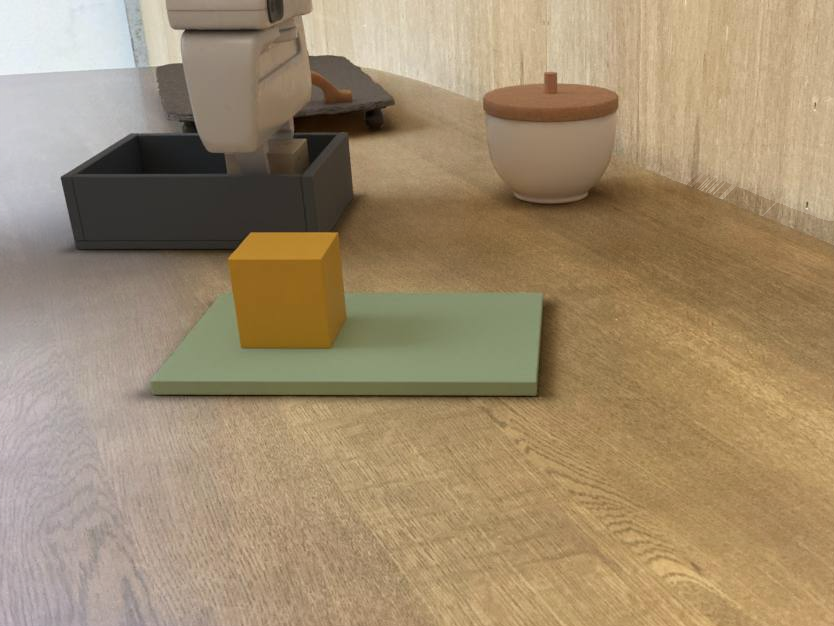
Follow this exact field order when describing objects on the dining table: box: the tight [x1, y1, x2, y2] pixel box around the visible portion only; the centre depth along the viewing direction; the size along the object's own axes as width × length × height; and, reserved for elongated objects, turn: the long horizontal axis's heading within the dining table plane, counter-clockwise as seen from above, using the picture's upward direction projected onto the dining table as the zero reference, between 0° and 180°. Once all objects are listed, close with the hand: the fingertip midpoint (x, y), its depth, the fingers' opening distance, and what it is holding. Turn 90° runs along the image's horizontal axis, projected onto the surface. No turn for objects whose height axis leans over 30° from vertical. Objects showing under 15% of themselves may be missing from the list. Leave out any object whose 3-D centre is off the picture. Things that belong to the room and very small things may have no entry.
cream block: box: [225, 139, 310, 175], centre depth 86 cm, size 5×5×5 cm
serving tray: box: [155, 49, 396, 133], centre depth 126 cm, size 39×23×6 cm, turn 18°
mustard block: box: [227, 231, 347, 348], centre depth 63 cm, size 5×5×5 cm
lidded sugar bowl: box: [482, 71, 619, 204], centre depth 91 cm, size 11×11×9 cm
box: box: [60, 132, 355, 250], centre depth 86 cm, size 18×15×5 cm
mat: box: [149, 291, 544, 397], centre depth 65 cm, size 20×14×1 cm
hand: (271, 189), depth 86 cm, fingers closed on cream block, 5 cm apart
